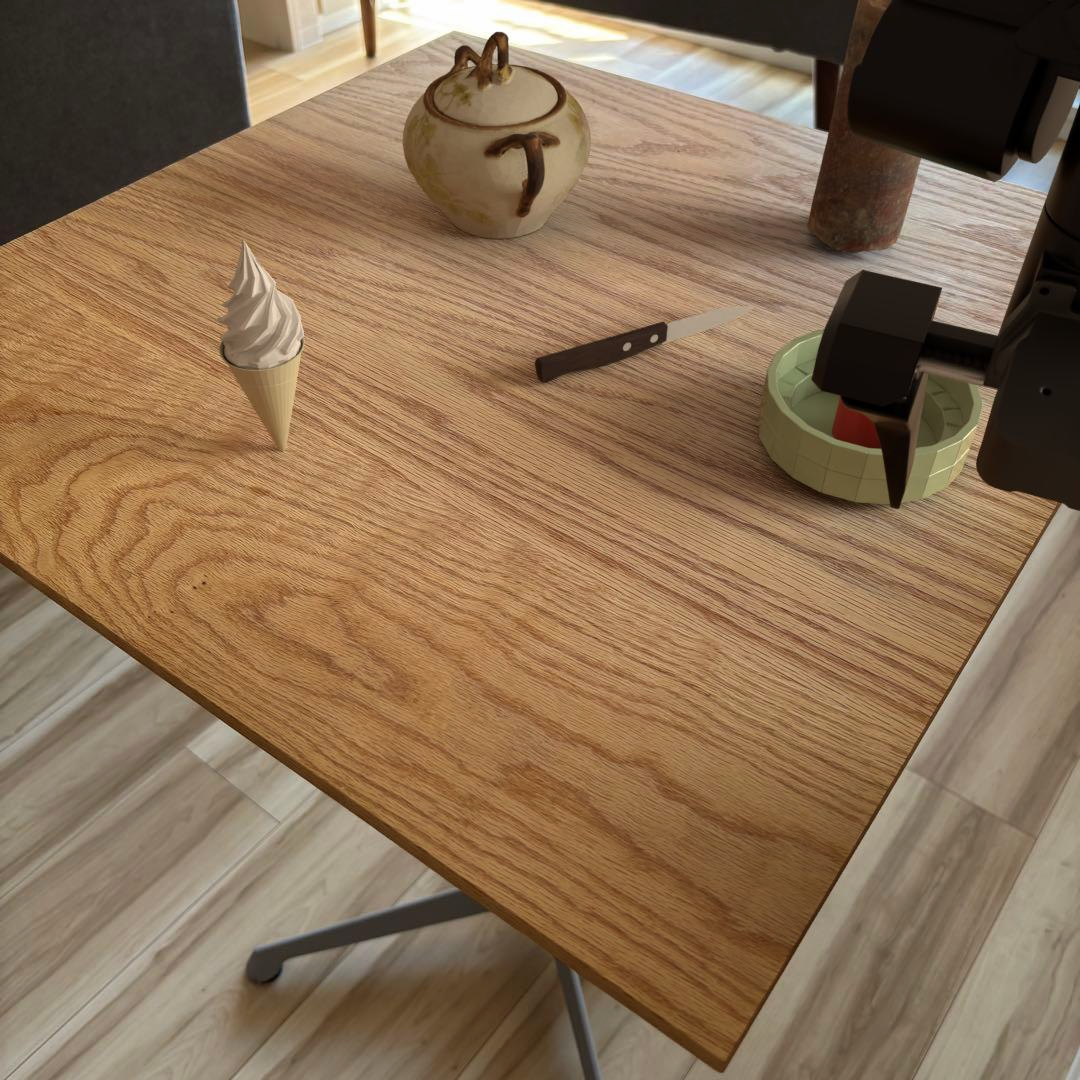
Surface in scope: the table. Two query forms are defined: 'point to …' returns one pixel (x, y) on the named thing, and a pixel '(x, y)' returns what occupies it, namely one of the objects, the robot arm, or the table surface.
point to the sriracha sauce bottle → (854, 428)
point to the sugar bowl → (496, 143)
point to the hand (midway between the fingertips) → (998, 531)
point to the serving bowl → (847, 469)
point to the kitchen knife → (631, 343)
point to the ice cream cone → (263, 344)
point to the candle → (860, 167)
